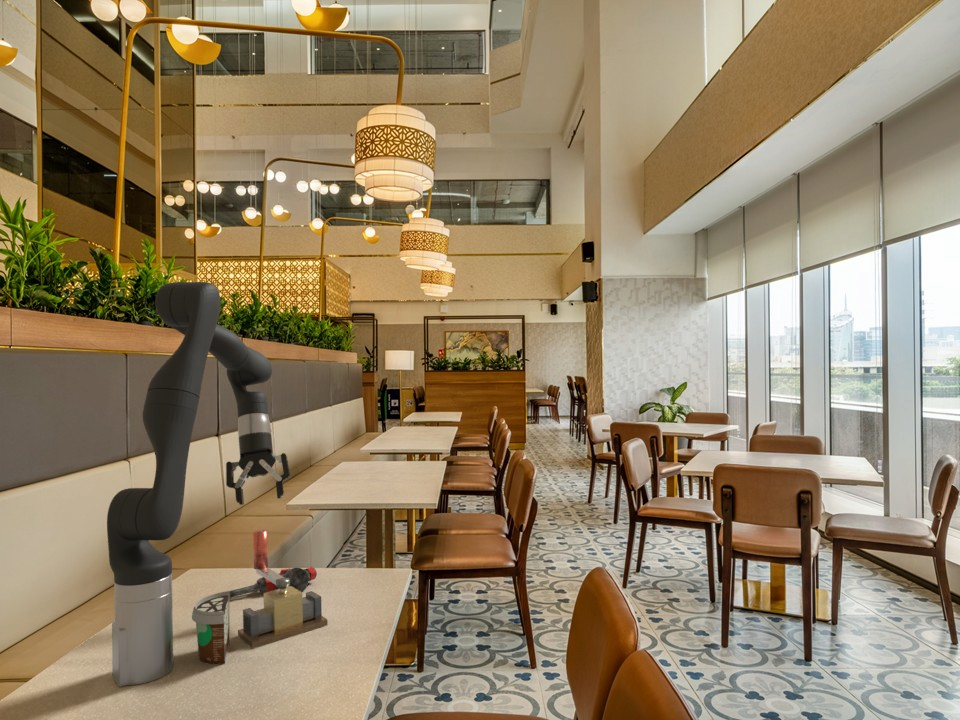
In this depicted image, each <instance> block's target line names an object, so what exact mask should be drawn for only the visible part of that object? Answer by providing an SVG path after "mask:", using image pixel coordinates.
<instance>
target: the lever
mask: <svg viewBox="0 0 960 720" xmlns="http://www.w3.org/2000/svg"><path fill="white" fill-rule="evenodd" d="M252 538H253V543H252V545H253V550H252V551H253V569H254V570H256V574H257V575H259V576H261V578H262V577H264V578H266V579H267V580H269V581H270V582H272V583H274V584H275V585H276V587H277V588H285V587H288V586H289V585H290V579H289V578H284V577H283V576H281V575H279V574H280V573H278V572H276V571H274V570H272V569H271V568H269V555H268V554H269V552H268V551H269V550H268V549H269V547H268V543H269V542H268V529H258V530H254V531H253V532H252Z"/></svg>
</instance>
